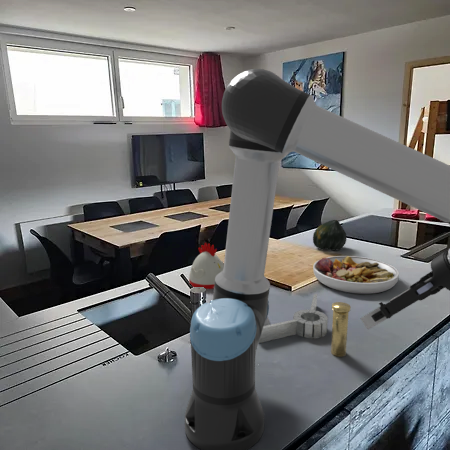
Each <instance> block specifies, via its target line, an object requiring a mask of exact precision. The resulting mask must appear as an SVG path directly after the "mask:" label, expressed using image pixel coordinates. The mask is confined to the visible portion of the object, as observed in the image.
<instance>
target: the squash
mask: <svg viewBox="0 0 450 450" xmlns="http://www.w3.org/2000/svg"><path fill="white" fill-rule="evenodd" d="M346 242H347V233H346V231H345V229H344V228H343V226H342V224H341V222H340V221H339V220H338V219H332V220H329V221H326V222H324V223H322V224H320V225H319V226H317V228H315V230H314V231H313V235H312V243H313V245H314V247H316V248H317V249H319V248H320V250H327V251H328V250H331V251H332V250H333V251H340V250H342V249H343V247H344V246H345V245H346Z"/></svg>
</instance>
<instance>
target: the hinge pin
mask: <svg viewBox="0 0 450 450" xmlns="http://www.w3.org/2000/svg"><path fill="white" fill-rule="evenodd" d="M351 308H352V307H351V305H350V304H349V303H347V302H342V301H336V302H332V303H331V310H332V323H331V324H332V328H331V345H330V348H331V349H330V354H331V355H333V356H334V357H337V358H342V357H346V354H347V341H348V328H349V327H348V325H349V313H350V311H351Z"/></svg>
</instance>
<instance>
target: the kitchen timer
mask: <svg viewBox="0 0 450 450" xmlns="http://www.w3.org/2000/svg"><path fill="white" fill-rule="evenodd" d="M200 246H201V247H200ZM200 246H199V247H198V252H199V254H198V255H197V256H196V257H195V259H194V260H193V262H192V265H191V269H190V272H189V277H188V279H189V280H188V283H189V282H190V283H189V285H190V284H191V285H192V286H191V285H190V286H191V287H192V288H195V287H204V288H206V289H205V290H212V289H213V290H214V285H215V277H216V276H217V275H218V274H219V273H220V272H222V271H223V269H224V261H223V260H221V258H220V257H219V256H218V255H217V254H216V253H217V250H218V248H215V246H214V244H212V245H211V244H210V243H208V242H204V245H203V244H202V245H200Z"/></svg>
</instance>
